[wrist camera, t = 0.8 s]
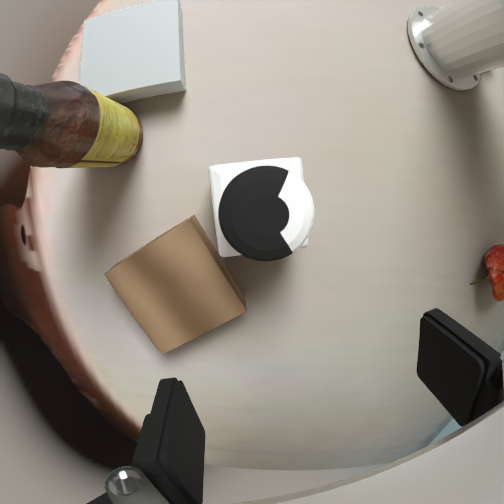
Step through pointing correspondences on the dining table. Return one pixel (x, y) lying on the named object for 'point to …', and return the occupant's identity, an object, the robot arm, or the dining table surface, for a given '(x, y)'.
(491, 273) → the pomegranate
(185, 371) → the dining table surface
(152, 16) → the grey block
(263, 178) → the medicine bottle
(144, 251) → the walnut block
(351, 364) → the dining table surface
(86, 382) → the dining table surface
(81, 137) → the sauce bottle
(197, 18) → the dining table surface
